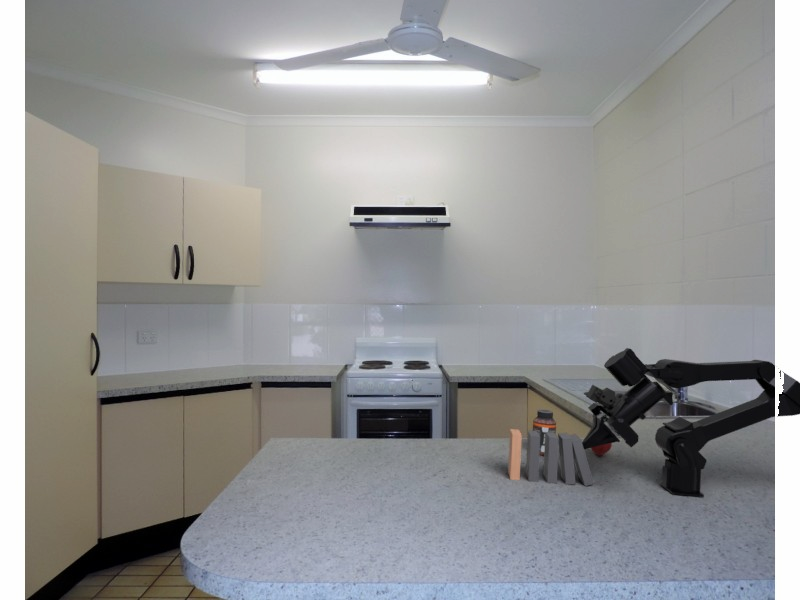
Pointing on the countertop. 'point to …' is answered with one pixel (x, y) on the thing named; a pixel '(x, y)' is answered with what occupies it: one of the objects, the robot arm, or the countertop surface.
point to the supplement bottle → (544, 426)
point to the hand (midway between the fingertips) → (582, 447)
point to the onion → (602, 449)
